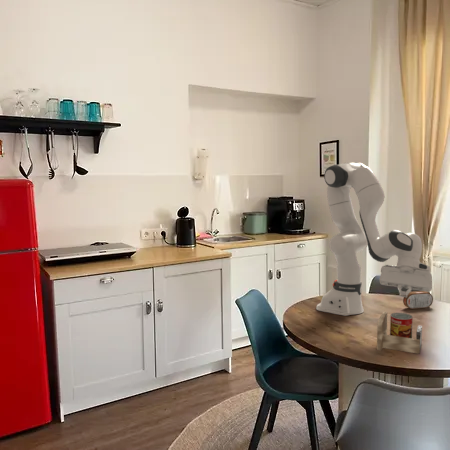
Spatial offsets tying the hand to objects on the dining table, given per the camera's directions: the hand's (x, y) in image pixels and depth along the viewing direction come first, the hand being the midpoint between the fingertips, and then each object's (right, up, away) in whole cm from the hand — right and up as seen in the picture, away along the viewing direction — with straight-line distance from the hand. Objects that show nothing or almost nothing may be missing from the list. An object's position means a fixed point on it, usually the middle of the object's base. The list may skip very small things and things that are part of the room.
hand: (403, 296), depth 178 cm
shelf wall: (-5, -18, -10) cm, 21 cm away
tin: (+23, -12, +39) cm, 47 cm away
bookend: (+2, -18, -9) cm, 20 cm away
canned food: (-4, -18, -8) cm, 20 cm away
